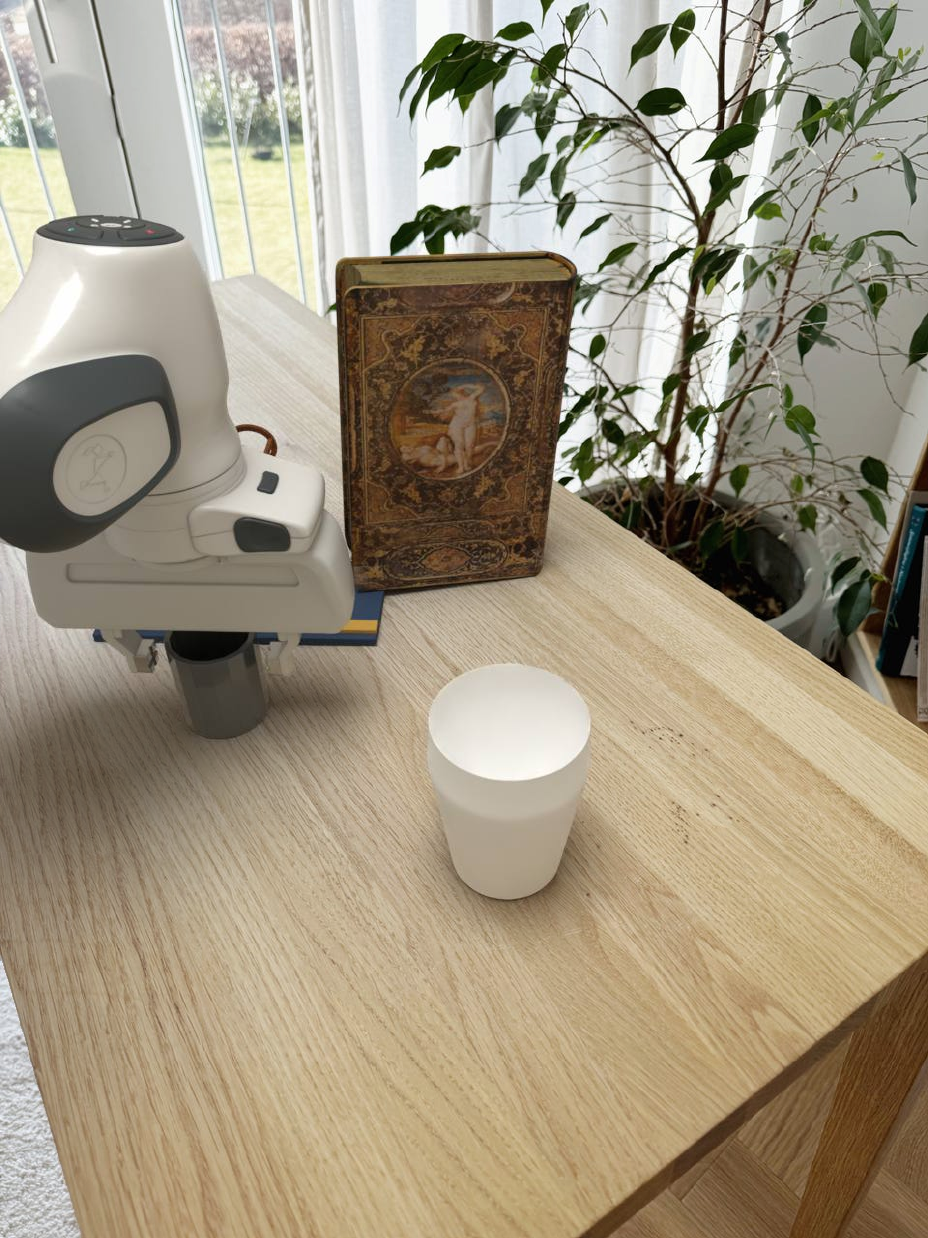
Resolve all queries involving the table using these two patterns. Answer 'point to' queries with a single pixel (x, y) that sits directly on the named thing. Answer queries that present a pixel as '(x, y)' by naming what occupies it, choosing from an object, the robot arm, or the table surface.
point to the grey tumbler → (218, 680)
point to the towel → (354, 633)
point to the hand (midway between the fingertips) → (213, 668)
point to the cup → (508, 774)
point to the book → (450, 412)
